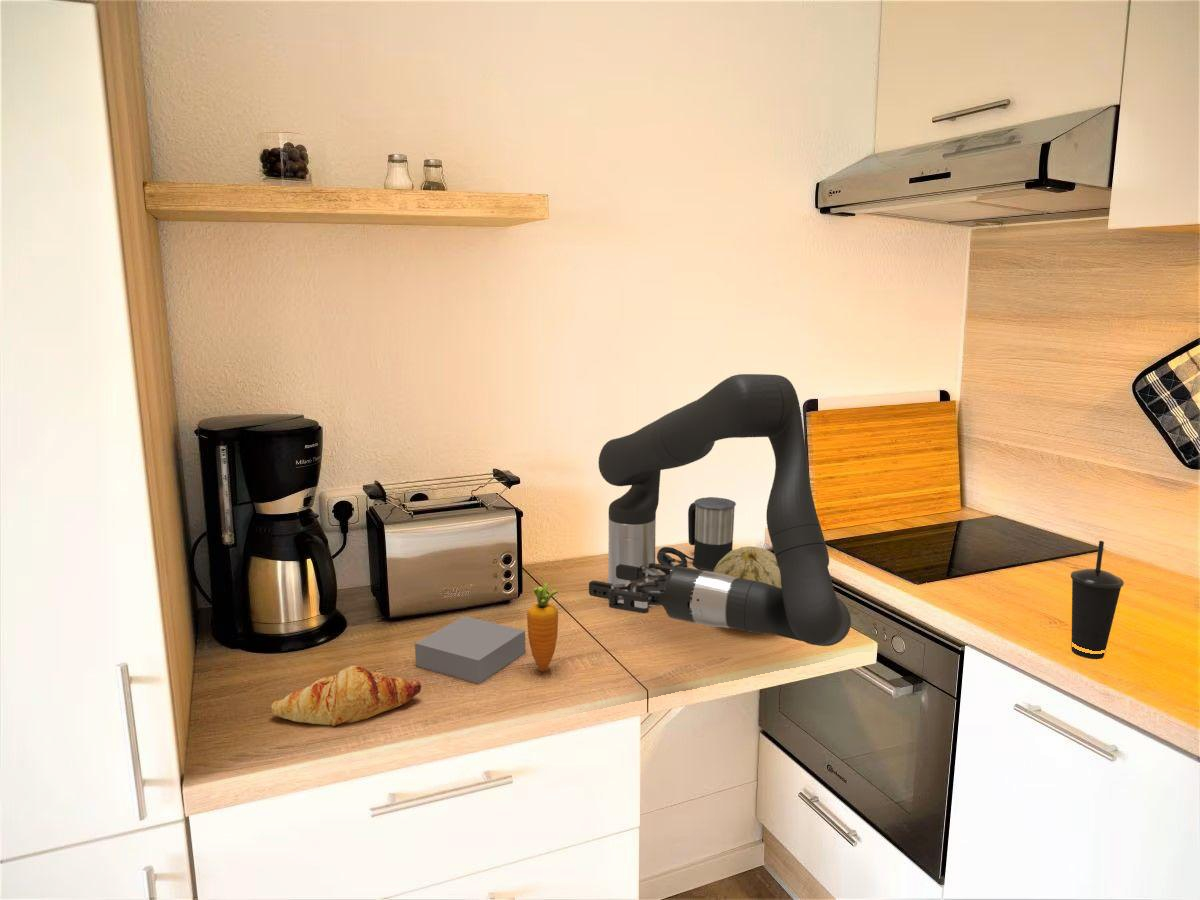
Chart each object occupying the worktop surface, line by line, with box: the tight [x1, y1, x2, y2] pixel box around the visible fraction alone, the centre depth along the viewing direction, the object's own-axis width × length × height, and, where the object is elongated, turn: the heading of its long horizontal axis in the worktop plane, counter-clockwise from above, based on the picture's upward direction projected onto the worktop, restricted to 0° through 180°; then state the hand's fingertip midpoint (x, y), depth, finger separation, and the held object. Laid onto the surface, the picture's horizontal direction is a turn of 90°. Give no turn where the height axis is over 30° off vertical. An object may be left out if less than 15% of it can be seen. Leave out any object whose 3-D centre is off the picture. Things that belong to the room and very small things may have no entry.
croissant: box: [270, 664, 422, 727], centre depth 119 cm, size 21×10×8 cm, turn 106°
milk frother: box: [656, 496, 737, 572], centre depth 181 cm, size 14×16×15 cm
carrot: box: [526, 582, 559, 673], centre depth 130 cm, size 5×5×15 cm
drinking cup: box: [1070, 540, 1125, 660], centre depth 137 cm, size 8×8×20 cm
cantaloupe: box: [713, 546, 782, 588], centre depth 149 cm, size 15×15×15 cm
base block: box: [414, 615, 526, 685], centre depth 136 cm, size 13×13×4 cm
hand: (603, 579), depth 123 cm, fingers open, 8 cm apart
